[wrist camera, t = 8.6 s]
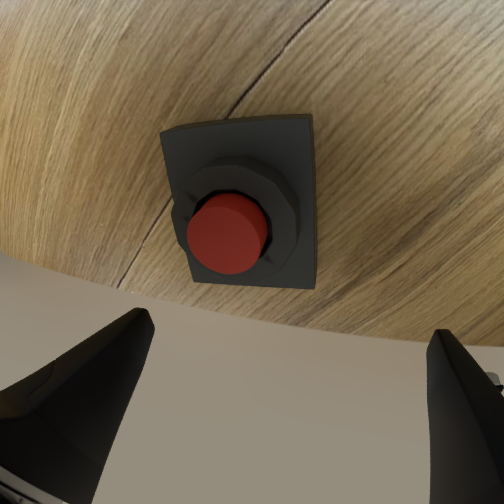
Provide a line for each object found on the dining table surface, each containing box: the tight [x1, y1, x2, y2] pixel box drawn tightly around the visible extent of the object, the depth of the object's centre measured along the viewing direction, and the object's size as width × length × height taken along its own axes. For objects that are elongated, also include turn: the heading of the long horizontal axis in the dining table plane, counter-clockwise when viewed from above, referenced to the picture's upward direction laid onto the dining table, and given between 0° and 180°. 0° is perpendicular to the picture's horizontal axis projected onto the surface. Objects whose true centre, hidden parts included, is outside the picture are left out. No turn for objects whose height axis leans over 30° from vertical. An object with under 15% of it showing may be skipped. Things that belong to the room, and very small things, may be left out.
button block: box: [160, 114, 317, 289], centre depth 17 cm, size 10×8×4 cm
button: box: [187, 193, 268, 274], centre depth 15 cm, size 4×4×2 cm
